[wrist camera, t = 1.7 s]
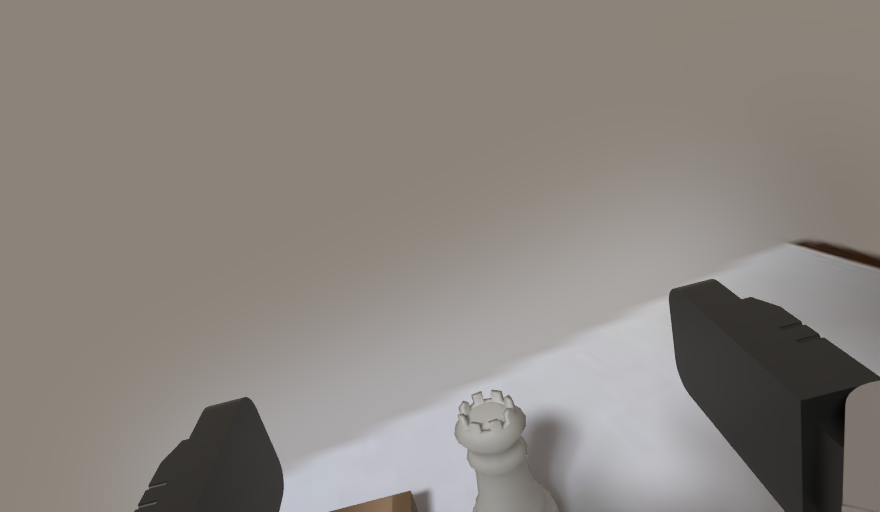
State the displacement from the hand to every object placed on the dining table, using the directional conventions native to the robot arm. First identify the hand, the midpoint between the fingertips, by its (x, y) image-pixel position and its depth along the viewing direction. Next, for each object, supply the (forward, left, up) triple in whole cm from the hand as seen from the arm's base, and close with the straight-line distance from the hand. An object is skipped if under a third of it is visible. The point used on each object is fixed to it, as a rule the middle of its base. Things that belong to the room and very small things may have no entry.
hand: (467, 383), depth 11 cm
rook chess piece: (0, -12, -18) cm, 22 cm away
